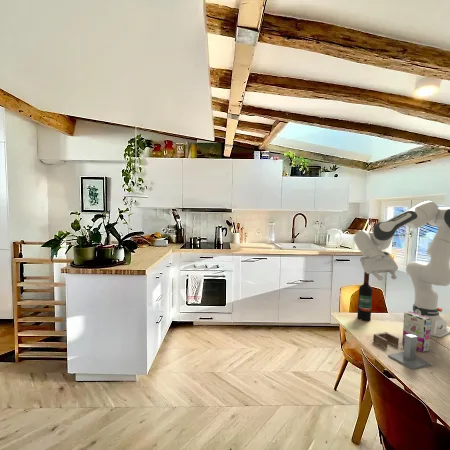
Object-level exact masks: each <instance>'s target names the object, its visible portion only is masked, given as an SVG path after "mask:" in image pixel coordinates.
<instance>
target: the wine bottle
mask: <svg viewBox="0 0 450 450" xmlns="http://www.w3.org/2000/svg"><path fill="white" fill-rule="evenodd" d="M363 274H364V275H363V283H362V284H361V285H360V286H359V288H358V301H357V317H356V318H357V320H360V321H362V322H370V321H371V320H372V319H371V318H372V316H371V315H372V304H373V288H372V286H370V284H369V282H370V274H367V273H366V272H365V271H364V273H363Z"/></svg>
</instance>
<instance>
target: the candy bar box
mask: <svg viewBox="0 0 450 450" xmlns="http://www.w3.org/2000/svg"><path fill="white" fill-rule="evenodd" d="M431 321H432V319H431V318H428V317H425V316H422V315H419V314H416V313H413V311H405V312H404V314H403V327H402V328H403V329H402V341H401V343H402V344H404V342H405V335H407V334H413V335H415V336H417V349H416V351H419V352H422V353H427V352H430V344H431V336H430V333H431Z"/></svg>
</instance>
